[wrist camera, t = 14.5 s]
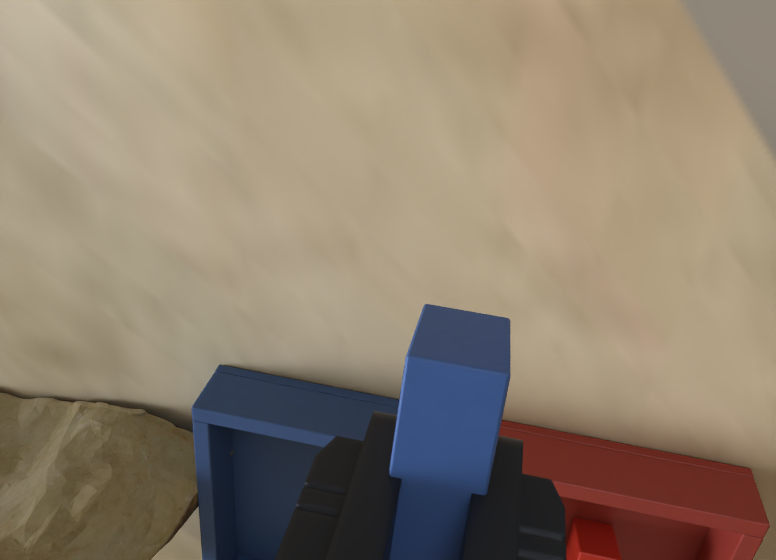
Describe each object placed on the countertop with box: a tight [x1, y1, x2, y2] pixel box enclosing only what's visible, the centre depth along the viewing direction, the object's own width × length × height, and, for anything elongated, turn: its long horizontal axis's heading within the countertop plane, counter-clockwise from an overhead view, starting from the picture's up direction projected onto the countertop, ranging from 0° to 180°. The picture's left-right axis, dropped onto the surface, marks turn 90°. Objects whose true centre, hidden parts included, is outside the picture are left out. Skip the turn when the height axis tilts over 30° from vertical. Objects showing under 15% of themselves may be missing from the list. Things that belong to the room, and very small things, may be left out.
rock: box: [0, 393, 233, 560], centre depth 26 cm, size 11×9×10 cm
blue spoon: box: [389, 304, 510, 560], centre depth 12 cm, size 8×3×2 cm, turn 174°
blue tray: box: [192, 365, 399, 560], centre depth 27 cm, size 10×9×2 cm
